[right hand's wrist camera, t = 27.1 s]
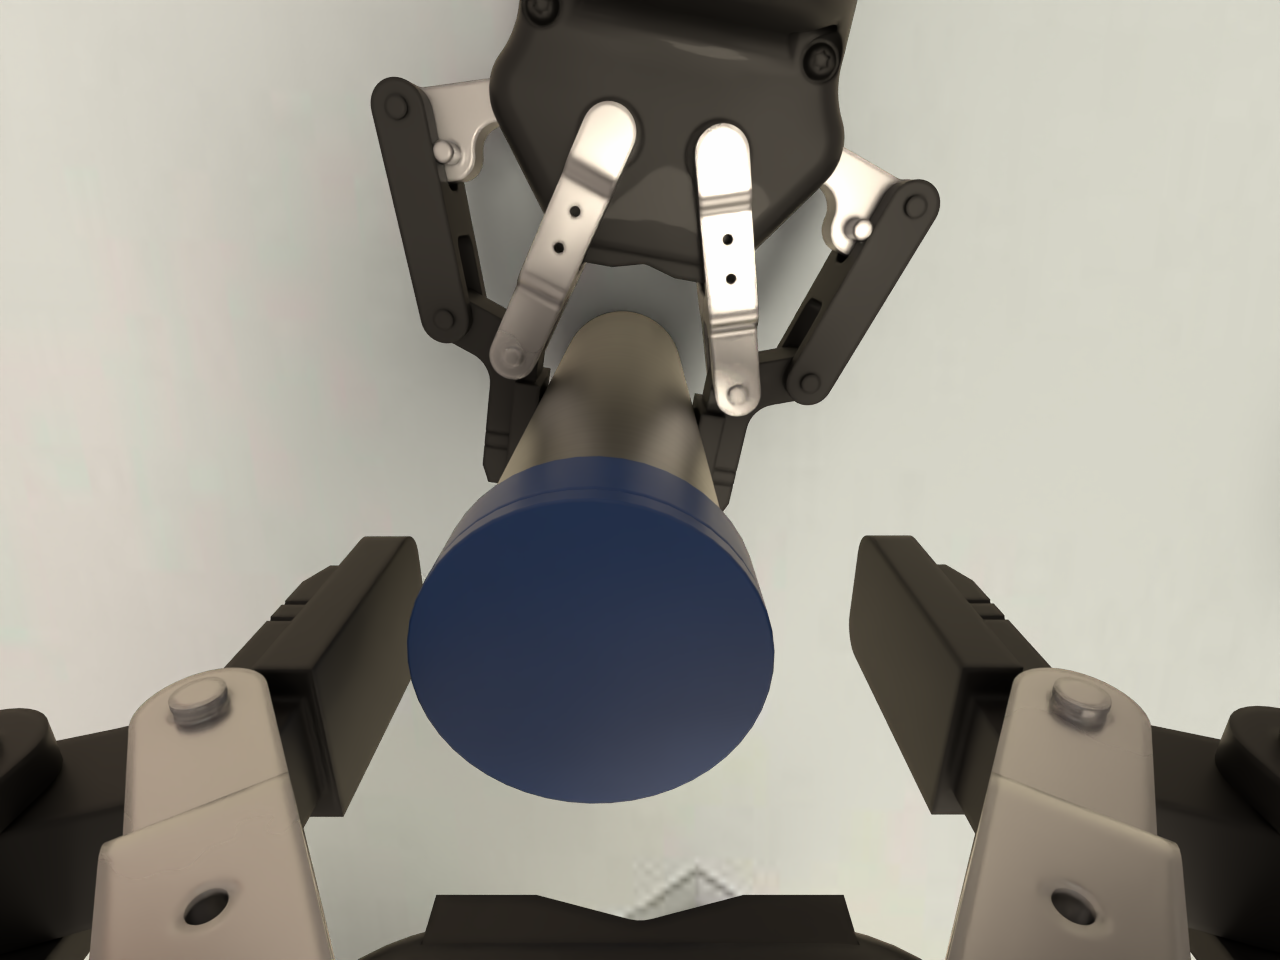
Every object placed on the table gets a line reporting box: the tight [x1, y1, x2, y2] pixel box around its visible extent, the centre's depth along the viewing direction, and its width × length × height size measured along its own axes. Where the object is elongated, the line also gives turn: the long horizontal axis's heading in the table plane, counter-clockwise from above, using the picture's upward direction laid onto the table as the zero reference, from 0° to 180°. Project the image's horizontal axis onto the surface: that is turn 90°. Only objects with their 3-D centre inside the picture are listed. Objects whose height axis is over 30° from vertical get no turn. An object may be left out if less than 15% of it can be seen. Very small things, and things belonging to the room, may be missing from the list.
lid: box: [407, 456, 774, 803], centre depth 10 cm, size 5×5×2 cm
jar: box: [498, 311, 719, 507], centre depth 18 cm, size 4×4×17 cm
